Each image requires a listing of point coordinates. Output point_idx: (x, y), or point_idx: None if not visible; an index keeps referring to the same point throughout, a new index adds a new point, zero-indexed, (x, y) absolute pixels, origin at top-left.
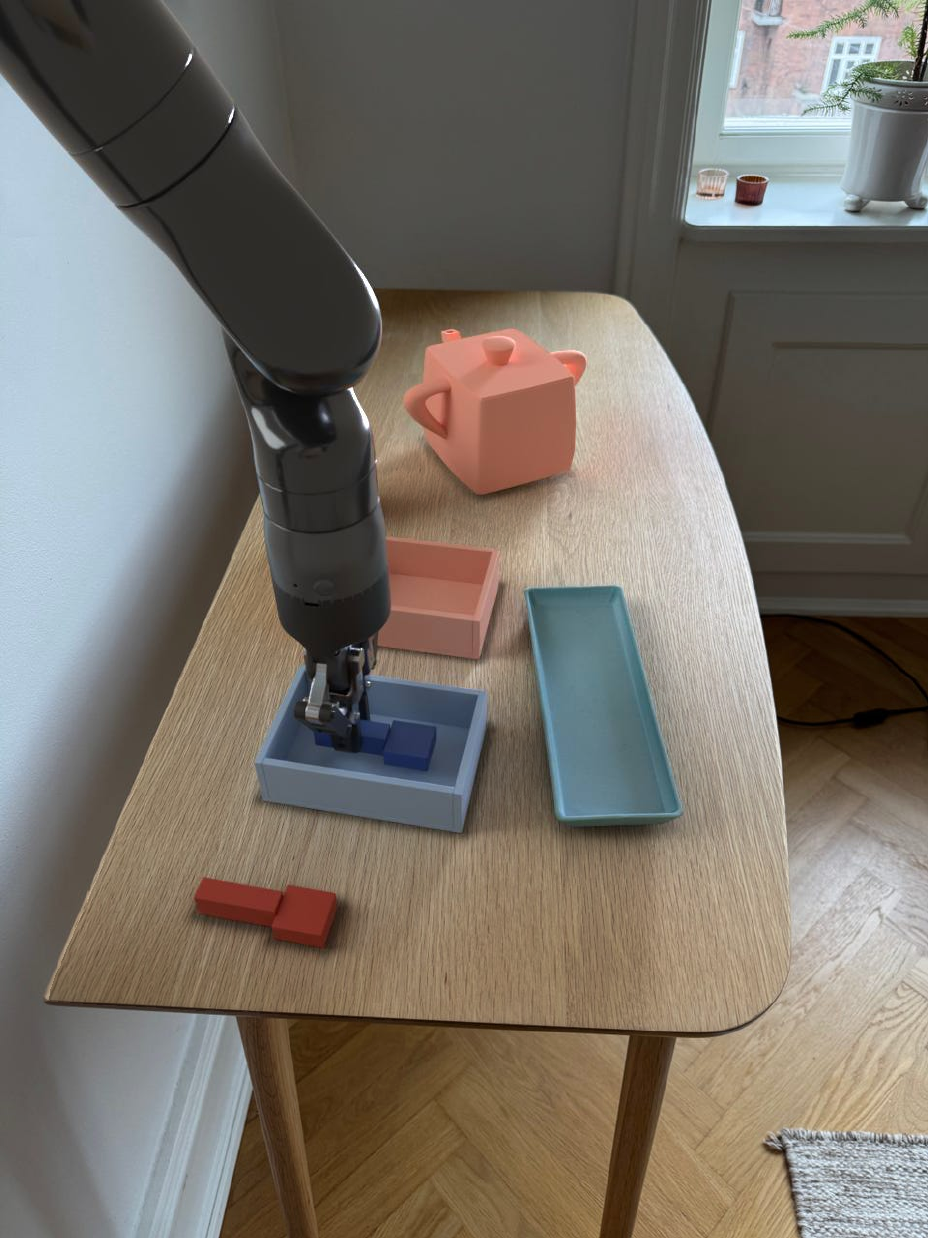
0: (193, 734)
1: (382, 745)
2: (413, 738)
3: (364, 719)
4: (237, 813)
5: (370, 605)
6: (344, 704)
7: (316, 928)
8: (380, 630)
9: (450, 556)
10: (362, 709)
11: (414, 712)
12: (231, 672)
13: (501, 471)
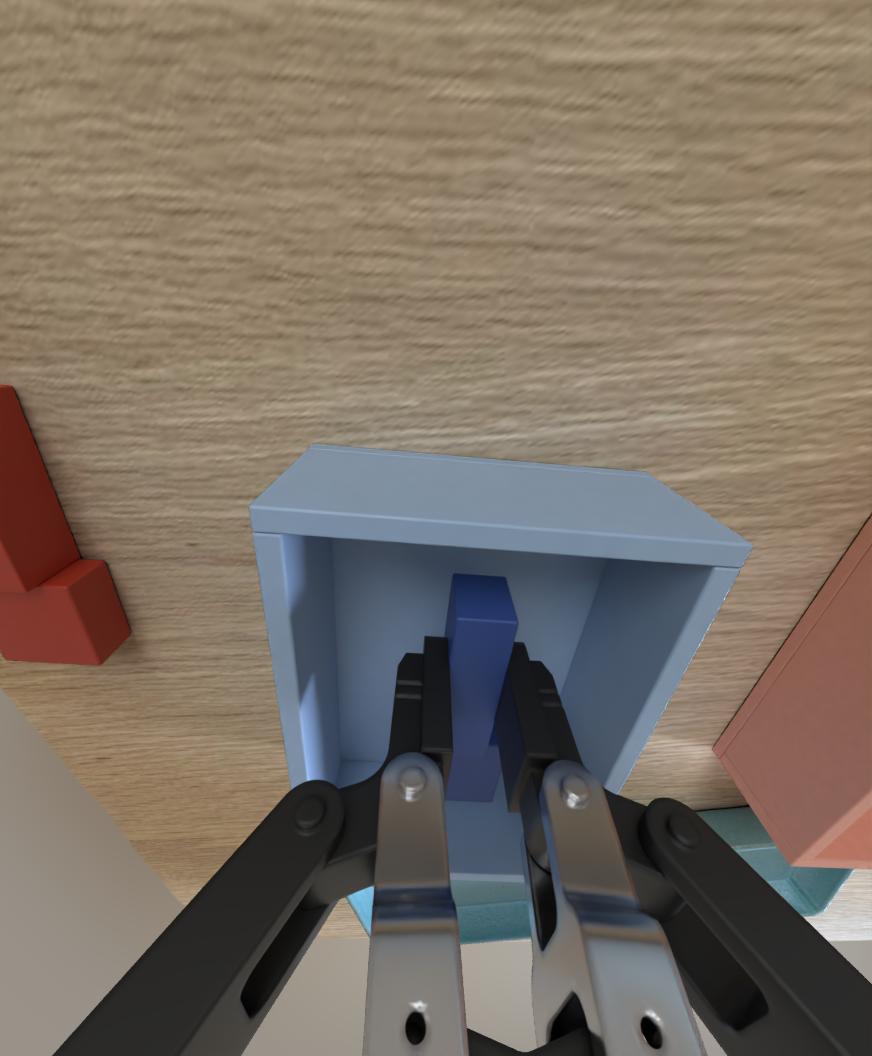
0: (542, 94)
1: None
2: (454, 780)
3: (495, 718)
4: (258, 386)
5: None
6: (513, 730)
7: (13, 651)
8: (863, 639)
9: None
10: (502, 754)
11: (567, 715)
12: (859, 157)
13: None
